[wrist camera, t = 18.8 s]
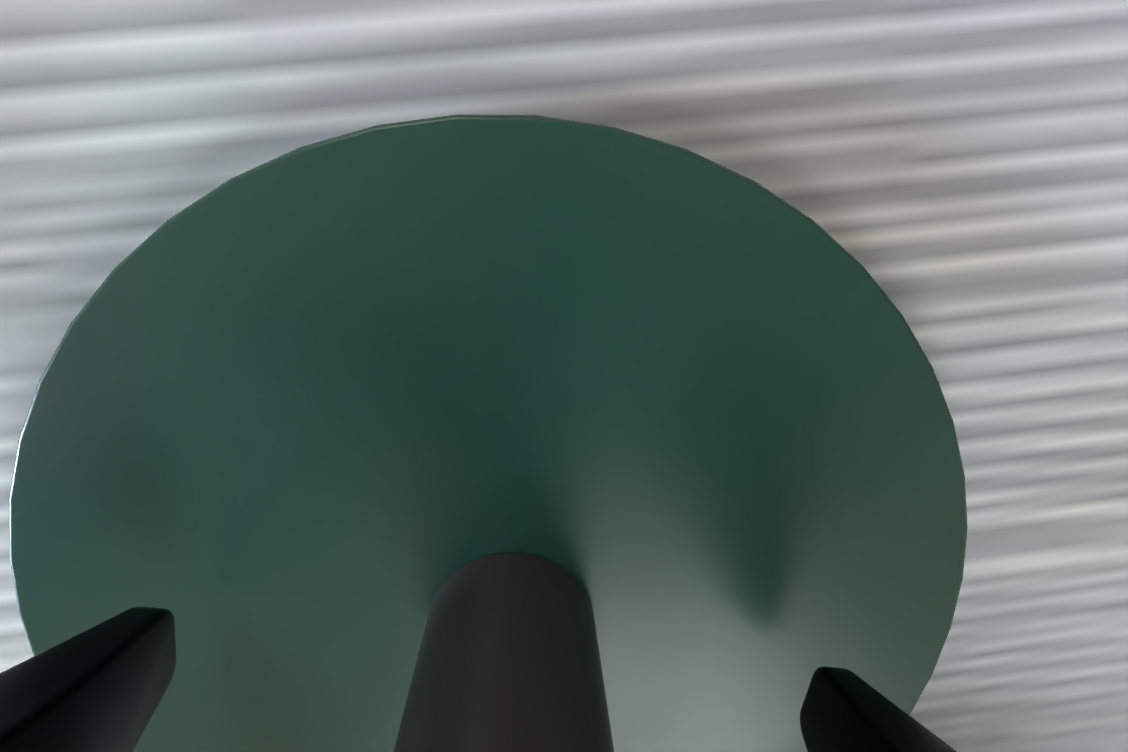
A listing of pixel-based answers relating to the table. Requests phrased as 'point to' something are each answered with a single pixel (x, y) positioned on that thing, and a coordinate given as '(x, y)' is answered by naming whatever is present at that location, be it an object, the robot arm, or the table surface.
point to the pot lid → (493, 454)
